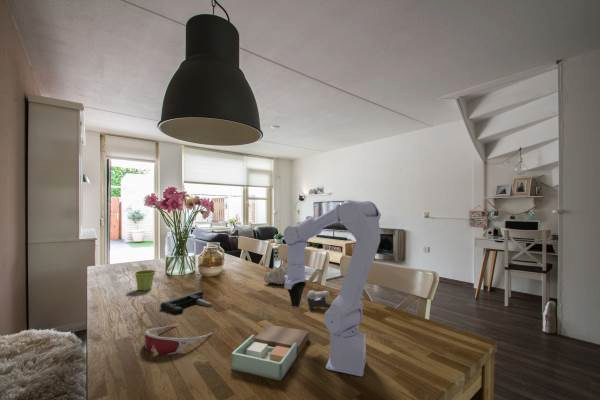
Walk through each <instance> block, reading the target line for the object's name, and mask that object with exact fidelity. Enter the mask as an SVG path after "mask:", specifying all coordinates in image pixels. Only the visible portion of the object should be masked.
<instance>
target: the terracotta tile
mask: <svg viewBox="0 0 600 400" xmlns="http://www.w3.org/2000/svg"><path fill="white" fill-rule="evenodd" d="M289 349H290V348H286V347H281V346H276V347H275V348H274V349H273V350H272V352H271V353H270V360H271V361H276V362H280V361H281V360H282V359H283V357H284V356H285V355H286V353H287V352H288V351H289Z"/></svg>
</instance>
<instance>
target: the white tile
mask: <svg viewBox="0 0 600 400" xmlns="http://www.w3.org/2000/svg"><path fill="white" fill-rule="evenodd" d="M267 352H268V344H264V343H258V342H253V343H252V344H251V345H250V346H249V347H248V348H247V349H246V355H248V356H253V357H257V358H262V357H263V356H264V355H265V354H266V353H267Z"/></svg>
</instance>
